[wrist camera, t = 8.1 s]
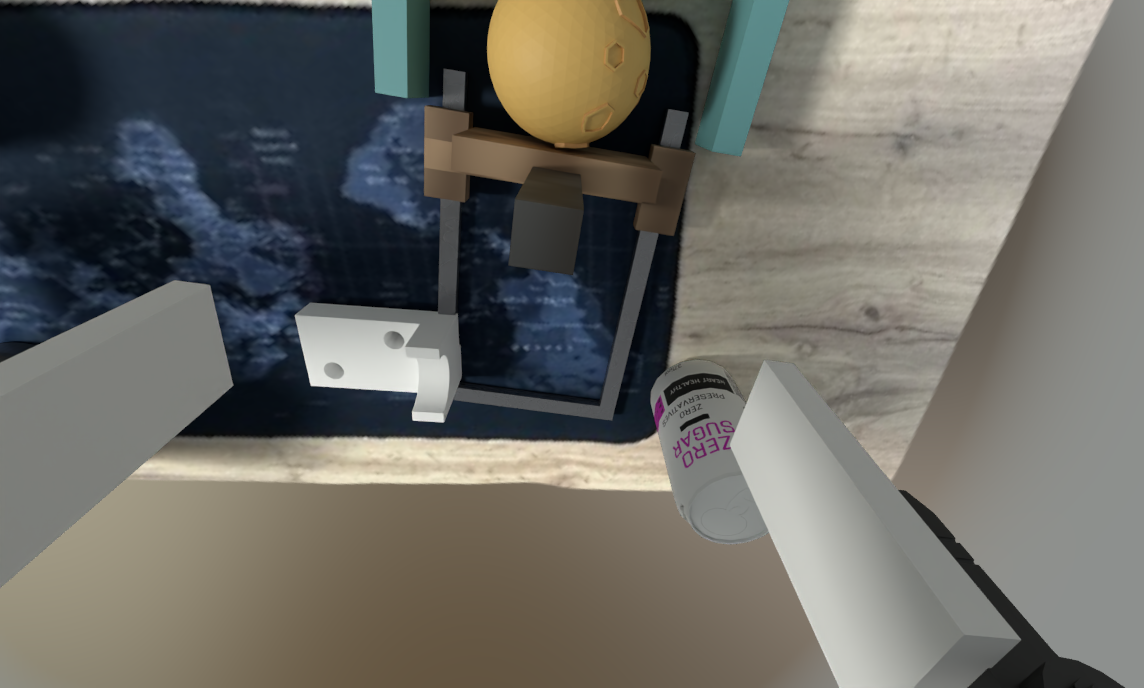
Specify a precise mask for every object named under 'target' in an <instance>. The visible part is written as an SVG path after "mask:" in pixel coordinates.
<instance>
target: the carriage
mask: <svg viewBox="0 0 1144 688" xmlns="http://www.w3.org/2000/svg"><path fill="white" fill-rule="evenodd" d="M695 154H696V153H694V152H692V151H690V150H684V149H679V148H673V147H667V146H661V145H656V144H651V146H650V151H649V155H648V158H647V157H646V156H641V155H635V154H629V153H623V152H617V151H612V150H606V149H600V148H594V147H587V148H576V149H573V148H560V149H556V148H555V144H552V143H549V142H545V141H543V140H541V139H538V138H536V137H530V136H525V135H519V134H513V133H507V132H501V131H496V130H490V129H484V128H478V127H474V128H473V112H467V111H461V110H455V109H450V108H444V107H438V106H432V105H428V106H425V135H424V196H428V197H435V198H441V199H447V200H453V201H459V202H466V201H467V200H468V199H469V190H470V175H473V176H479V177H485V178H491V179H497V180H503V181H509V182H515V183H521V184H523V185H522V187H521V189H520V191H519V193H518V195H517V196H516V198H515V204H514V214H513V225H512V235H511V245H510V255H509V266H516V267H522V268H529V269H535V270H542V271H549V272H555V273H562V274H568V275H573V272H574V266H575V260H576V254H577V248H578V242H579V236H580V230H581V224H582V218H583V212H584V207H583V196H582V194H588V195H594V196H600V197H606V198H612V199H618V200H624V201H630V202H636V203H638V205H637V209H636V214H635V218H634V223H633V225H634V228H635V230H640V231H646V232H653V233H659V234H665V235H671V236H674V232H675V229H676V225H677V221H678V217H679V214H680V210H681V206H682V202H683V199H684V195H685V191H686V187H687V184H688V180H689V176H690V172H691V169H692V165H693V161H694V157H695Z"/></svg>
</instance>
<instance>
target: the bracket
mask: <svg viewBox="0 0 1144 688" xmlns="http://www.w3.org/2000/svg"><path fill="white" fill-rule="evenodd" d="M295 319H296V323H297V328H298V332H299V336H300V341H301V345H302V349H303V354H304V358H305V362H306V367H307V371H308V375H309V380H310V384H311V386H323V387H338V388H354V389H369V390H385V391H401V392H416V393H417V397H416V401H415V405H414V408H413V410H412V417H413V420H414V421H430V422H444V421H445V418H446V416H447V413H448V411H449V408H450V406H451V403H452V401H453V398H454V396H455V393H456V390H457V388H458V385H459V383H460V380H461V378H462V366H461V345H459V330H458V313H456V315H443V314H438V312H436V311H422V310H407V309H393V308H379V307H365V306H350V305H336V304H322V303H309V304H308V305H307V306H305V307H304V308H303V309H302V310H300V311H299V312H298V313H297V314H295ZM397 332H398V333H397Z"/></svg>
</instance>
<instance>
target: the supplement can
mask: <svg viewBox="0 0 1144 688" xmlns="http://www.w3.org/2000/svg"><path fill="white" fill-rule="evenodd" d="M745 406H746V401H745V400H744V398H743V396H742V394H741V392H740V391H739V389H738V387H737V385H736V383H735V382H734V380H733V378H732V377H731V375H730V374H729V373H728V372H727V371H726V369H725V368H724V367H722V366H720V365H718V364H716V363H714V362H712V361H705V360H698V359H696V360H690V361H684V362H680V363H678V364H676V365H674V366H672V367H670V368H668V369H667V370H666V371H665V372H664V373H663V374H662V375H661V376H659V377H658V378H657V380H656V382H655V384H654V386H653V388H652V390H651V407H652V411H653V415H654V419H655V423H656V427H657V431H658V435H659V439H660V443H661V447H662V451H663V455H664V459H665V463H666V467H667V471H668V475H669V479H670V483H671V487H672V491H673V495H674V498H675V503H676V505H677V508H678V510H679V513H680V515H681V516H682V517H683V518H684V519H685V520H686V521H687V522H688V523H689V524H690V525H691V526H692V529H693V530H694V531H696V532H697V533H698V534H699V535H700V536H701V537H703V538H705V539H707V540H710V541H712V542H715V543H723V544H738V543H746V542H749V541H752V540H755V539H758V538H760V537H763V536H765V535H766V534H767V533H769V531H768V529H767V526H766V524H765V522H764V520H763V518H762V515H761V513H760V511H759V509H758V507H757V504H756V502H755V500H754V498H753V495H752V493H751V491H750V489H749V487H748V484H747V482H746V480H745V478H744V476H743V473H742V471H741V469H740V467H739V465H738V462H737V460H736V458H735V456H734V453H733V451H732V449H731V447H730V443H731V440H732V438H733V435H734V433H735V430H736V428H737V425H738V423H739V421H740V418H741V416H742V413H743V411H744V408H745Z"/></svg>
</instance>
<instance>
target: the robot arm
mask: <svg viewBox="0 0 1144 688" xmlns="http://www.w3.org/2000/svg"><path fill="white" fill-rule="evenodd" d="M232 386H233V382H232V378H231V373H230V369H229V365H228V360H227V356H226V352H225V348H224V343H223V339H222V335H221V330H220V326H219V322H218V317H217V313H216V309H215V305H214V300H213V296H212V292H211V287H210V285H206V284H199V283H191V282H184V281H176V280H174V281H172V282H170V283H167V284H165V285H163V286H161V287H159V288H157V289H155V290H153V291H151V292H148V293H146V294H144V295H142V296H140V297H138V298H136V299H134V300H132V301H129V302H127V303H125V304H123V305H121V306H119V307H117V308H115V309H113V310H110V311H108V312H106V313H104V314H102V315H100V316H98V317H96V318H94V319H91V320H89V321H87V322H85V323H83V324H81V325H79V326H77V327H74V328H72V329H70V330H68V331H66V332H64V333H62V334H60V335H58V336H55V337H53V338H51V339H49V340H47V341H45V342H43V343H41V344H39V345H33V344H27V343H17V342H8V343H0V588H1V587H2V586H3V585H4V584H5V583H7V582H8V581H9V580H10V579H11V578H12V577H13V576H15V575H16V574H17V573H18V572H19V571H20V570H22V569H23V568H24V567H25V566H26V565H27V564H28V563H30V561H32V560H33V559H34V558H35V557H37V556H38V555H39V554H40V553H41V552H42V551H43V550H45V549H46V548H47V547H48V546H49V545H50V544H51V543H52V542H54V541H55V540H56V539H57V538H58V537H60V536H61V535H62V534H63V533H64V532H65V531H66V530H68V529H69V528H70V527H71V526H72V525H73V524H75V523H76V522H77V521H78V520H79V519H80V518H81V517H83V516H84V515H85V514H86V513H87V512H88V511H89V510H91V509H92V508H93V507H94V506H95V505H96V504H98V503H99V502H100V501H101V500H102V499H103V498H104V497H106V496H107V495H108V494H109V493H110V492H111V491H113V490H114V489H115V488H116V487H117V486H118V485H119V484H121V483H122V482H123V481H124V480H125V479H126V478H127V477H129V476H130V475H131V474H132V473H133V472H134V471H136V470H137V469H138V468H139V467H140V466H141V465H142V464H144V463H145V462H146V461H147V460H148V459H149V458H151V457H152V456H153V455H154V454H155V453H156V452H157V451H159V450H160V449H161V448H162V447H163V446H164V445H165V444H167V443H168V442H169V441H170V440H171V439H172V438H174V437H175V436H176V435H177V434H178V433H179V432H180V431H182V430H183V429H184V428H185V427H186V426H187V425H189V424H190V423H191V422H192V421H193V420H194V419H195V418H197V417H198V416H199V415H200V414H201V413H202V412H203V411H205V410H206V409H207V408H208V407H209V406H210V405H212V404H213V403H214V402H215V401H216V400H217V399H218V398H220V397H221V396H222V395H223V394H224V393H225V392H227V391H228V390H229V389H230V388H231V387H232ZM730 447H731V449H732V451H733V453H734V456H735V458H736V460H737V462H738V465H739V467H740V469H741V471H742V473H743V476H744V478H745V480H746V482H747V484H748V487H749V489H750V491H751V493H752V495H753V498H754V500H755V502H756V504H757V507H758V509H759V511H760V513H761V515H762V518H763V520H764V522H765V524H766V526H767V529H768V531H769V533H770V535H771V538H772V540H773V541H774V544H775V546H776V548H777V551H778V553H779V555H780V557H781V560H782V562H783V564H784V566H785V569H786V571H787V573H788V575H789V577H790V580H791V582H792V584H793V586H794V588H795V590H796V593H797V595H798V597H799V599H800V601H801V604H802V606H803V608H804V611H805V613H806V615H807V617H808V619H809V622H810V623H811V626H812V628H813V630H814V632H815V635H816V637H817V639H818V642H819V644H820V646H821V648H822V650H823V653H824V655H825V657H826V659H827V661H828V664H829V666H830V668H831V670H832V672H833V675H834V677H835V679H836V681H837V684H838V686H839V688H1125V687H1123V686H1121V685H1120V684H1119V683H1117V682H1116V681H1114V680H1113V679H1111V678H1110V677H1108V676H1107V675H1105V674H1104V673H1102V672H1100V671H1098V670H1096V669H1094V668H1092V667H1090V666H1088V665H1086V664H1083V663H1081V662H1079V661H1076V660H1072V659H1067V658H1061V657H1058V655H1057V654H1056V653H1055V652H1054V651H1053V650H1052V649H1051V648H1050V647H1049V646H1048V644H1047V643H1046V642H1045V641H1044V640H1043V639H1042V638H1041V636H1040V635H1039V634H1038V633H1037V632H1036V631H1035V630H1034V628H1033V627H1032V626H1031V625H1030V624H1029V623H1028V621H1027V620H1026V619H1025V618H1024V617H1023V616H1022V614H1021V613H1020V612H1019V611H1018V610H1017V609H1016V607H1015V606H1014V605H1013V604H1012V603H1011V602H1010V601H1009V600H1008V598H1007V597H1006V596H1005V595H1004V594H1003V593H1002V591H1001V590H1000V589H999V588H998V587H997V586H996V584H995V583H994V582H993V581H992V580H991V579H990V578H989V576H988V575H987V574H986V573H985V572H984V570H982V569H981V567H980V566H979V565H975V564H974V562H973V561H974V559H973V558H972V557H971V556H970V554H969V553H968V552H967V551H966V550H965V549H964V547H963V546H962V545H961V544H960V543H956V542H955V537H954V536H953V535H952V534H951V532H950V531H949V530H948V529H947V528H946V527H945V525H944V524H943V523H942V522H941V521H940V520H939V518H938V517H937V516H936V515H935V514H934V513H933V512H932V511H931V510H929V509H928V508H927V507H926V506H924V505H923V504H922V503H920V502H919V501H918V500H917V499H915V498H914V497H913V496H911V495H910V494H909V493H908V492H907V491H904V490H897V488H896V487H895V486H894V485H893V484H892V482H891V481H890V480H889V479H888V477H887V476H886V475H885V474H884V473H883V471H882V470H881V469H880V468H879V466H878V465H877V464H876V463H875V462H874V460H873V459H872V458H871V457H870V456H869V454H868V453H867V452H866V451H865V449H864V448H863V447H862V446H861V445H860V443H859V442H858V441H857V440H856V439H855V437H854V436H853V435H852V434H851V432H850V431H849V430H848V429H847V428H846V426H845V425H844V424H843V423H842V422H841V420H840V419H839V418H838V417H837V415H836V414H835V413H834V412H833V411H832V409H831V408H830V407H829V406H828V405H827V403H826V402H825V401H824V400H823V398H822V397H821V396H820V395H819V394H818V392H817V391H816V390H815V389H814V388H813V386H812V385H811V384H810V383H809V382H808V380H807V379H806V378H805V377H804V375H803V374H802V373H801V372H800V371H799V369H798V368H797V367H796V366H795V365H794V363H786V362H779V361H771V360H764V361H763V364H762V366H761V369H760V371H759V374H758V376H757V379H756V381H755V383H754V386H753V388H752V391H751V393H750V396H749V398H748V401H747V403H746V406H745V408H744V411H743V413H742V416H741V418H740V421H739V423H738V425H737V428H736V430H735V433H734V435H733V438H732V440H731V443H730Z"/></svg>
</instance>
